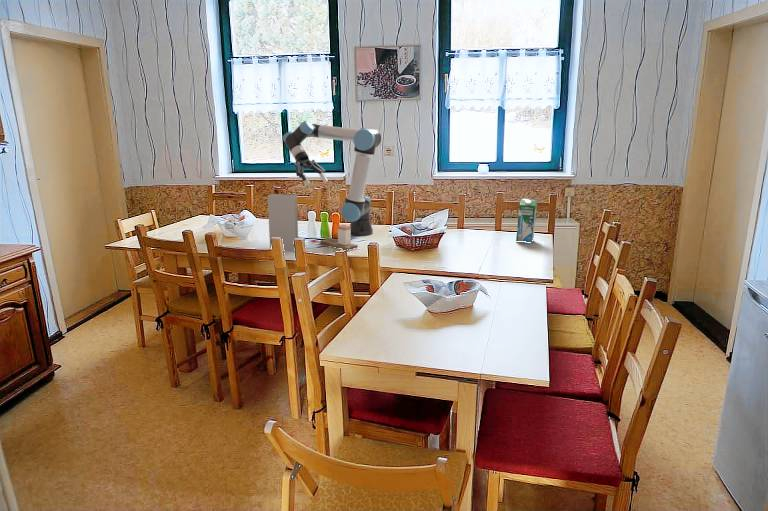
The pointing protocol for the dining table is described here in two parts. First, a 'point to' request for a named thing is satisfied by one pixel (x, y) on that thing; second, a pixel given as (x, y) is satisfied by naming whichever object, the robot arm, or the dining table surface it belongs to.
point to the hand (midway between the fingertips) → (317, 183)
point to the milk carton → (526, 220)
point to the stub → (344, 234)
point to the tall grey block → (283, 219)
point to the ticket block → (334, 243)
